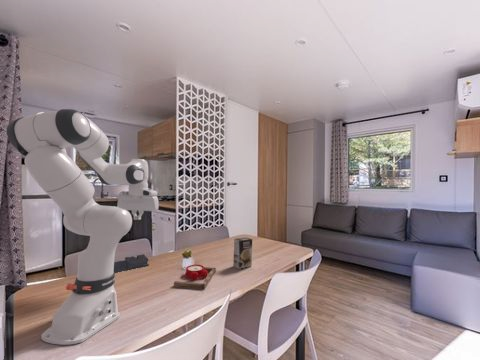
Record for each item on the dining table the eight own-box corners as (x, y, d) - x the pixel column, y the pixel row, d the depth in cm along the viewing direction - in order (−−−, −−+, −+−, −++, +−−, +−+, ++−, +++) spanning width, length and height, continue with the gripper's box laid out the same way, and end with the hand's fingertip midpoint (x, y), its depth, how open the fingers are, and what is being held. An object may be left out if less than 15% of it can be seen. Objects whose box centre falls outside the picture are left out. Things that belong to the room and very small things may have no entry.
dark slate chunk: (101, 267, 131) (102, 258, 131) (141, 259, 146) (141, 251, 146) (110, 275, 120) (110, 266, 120) (152, 266, 135) (152, 257, 135)
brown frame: (204, 289, 106) (204, 285, 106) (173, 286, 108) (173, 282, 108) (215, 271, 128) (215, 267, 128) (189, 269, 130) (190, 266, 130)
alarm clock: (199, 263, 130) (211, 264, 118) (200, 275, 129) (212, 278, 117) (181, 266, 125) (192, 268, 113) (181, 278, 123) (192, 282, 111)
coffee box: (239, 269, 132) (240, 240, 132) (232, 266, 137) (233, 238, 137) (252, 266, 137) (252, 239, 137) (245, 263, 142) (246, 236, 143)
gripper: (114, 191, 114) (113, 219, 114) (154, 192, 112) (153, 221, 112) (122, 190, 121) (121, 217, 120) (160, 192, 118) (159, 219, 118)
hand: (137, 219), depth 116 cm, fingers closed
